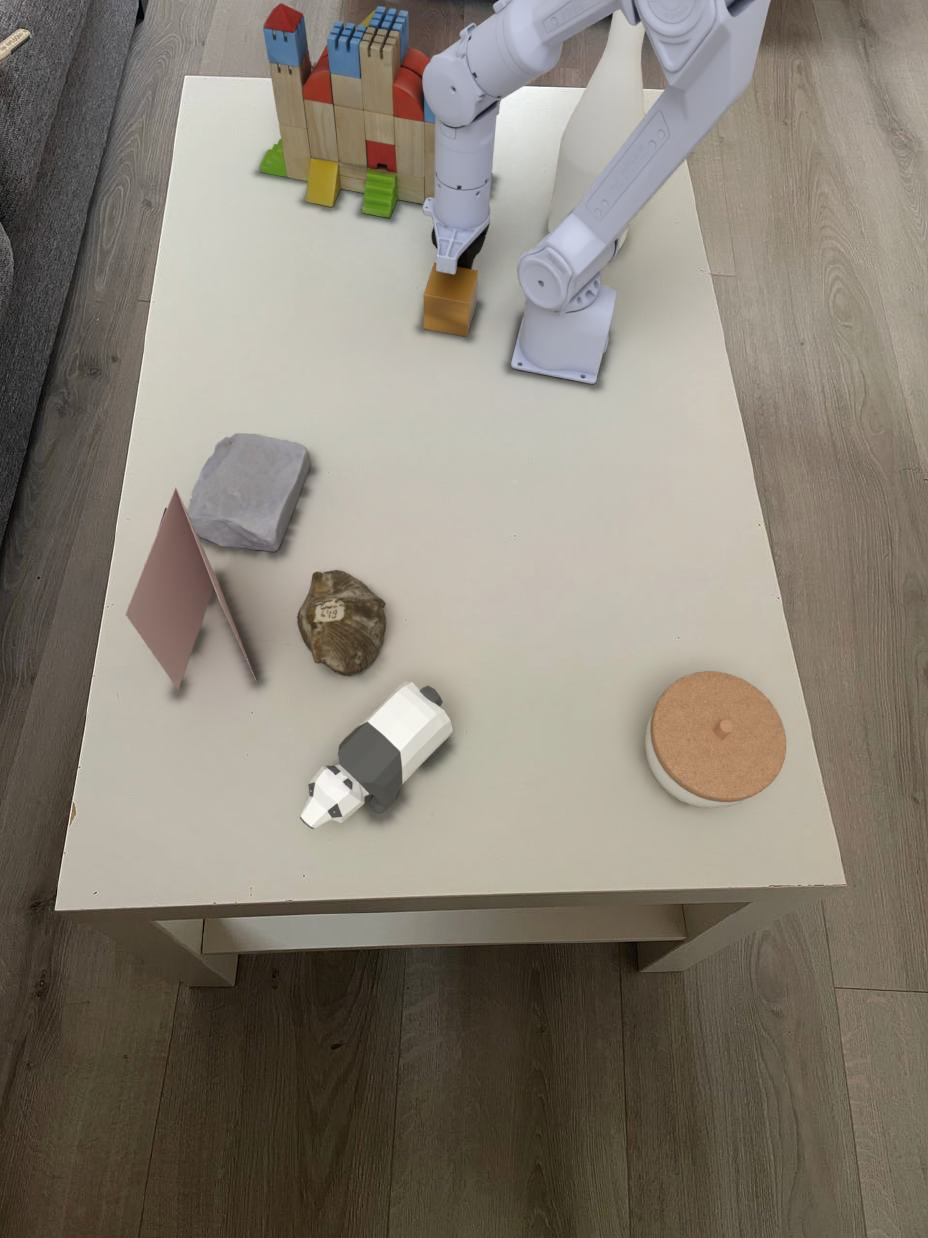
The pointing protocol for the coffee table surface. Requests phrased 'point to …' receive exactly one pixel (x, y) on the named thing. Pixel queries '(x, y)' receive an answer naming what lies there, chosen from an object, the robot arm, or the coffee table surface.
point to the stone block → (248, 491)
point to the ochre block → (450, 301)
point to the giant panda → (379, 755)
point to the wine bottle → (600, 119)
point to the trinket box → (714, 740)
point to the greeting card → (175, 592)
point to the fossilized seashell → (342, 622)
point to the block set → (351, 111)
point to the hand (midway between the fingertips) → (458, 280)
